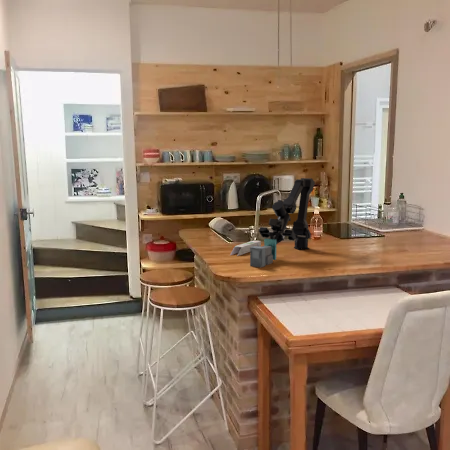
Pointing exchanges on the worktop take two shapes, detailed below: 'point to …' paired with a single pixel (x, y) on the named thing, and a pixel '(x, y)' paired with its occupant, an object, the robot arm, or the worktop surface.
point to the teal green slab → (271, 243)
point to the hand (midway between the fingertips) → (271, 247)
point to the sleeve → (268, 255)
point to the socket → (257, 256)
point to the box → (245, 247)
